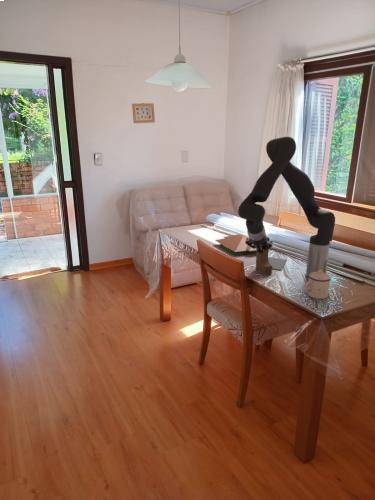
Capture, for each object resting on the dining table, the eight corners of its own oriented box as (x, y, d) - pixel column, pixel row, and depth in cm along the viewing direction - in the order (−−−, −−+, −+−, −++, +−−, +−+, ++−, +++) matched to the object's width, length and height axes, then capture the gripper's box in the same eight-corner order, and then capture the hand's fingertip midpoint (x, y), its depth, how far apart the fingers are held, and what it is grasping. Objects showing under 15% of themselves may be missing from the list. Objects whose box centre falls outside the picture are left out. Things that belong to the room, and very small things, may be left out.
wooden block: (271, 274, 185) (274, 240, 179) (263, 275, 183) (266, 240, 178) (262, 268, 193) (265, 235, 187) (255, 269, 191) (257, 236, 186)
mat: (286, 260, 205) (286, 259, 205) (281, 270, 190) (281, 269, 190) (263, 257, 210) (263, 256, 210) (256, 266, 195) (256, 266, 195)
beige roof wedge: (237, 258, 208) (237, 245, 206) (211, 243, 238) (212, 231, 235) (271, 254, 217) (272, 241, 214) (242, 239, 246) (243, 227, 243)
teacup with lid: (318, 289, 167) (321, 265, 164) (333, 297, 159) (336, 272, 156) (297, 293, 163) (299, 269, 159) (311, 302, 155) (314, 276, 151)
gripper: (273, 227, 160) (276, 246, 174) (243, 224, 165) (249, 243, 179) (270, 242, 157) (273, 260, 171) (240, 238, 162) (245, 256, 176)
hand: (261, 251), depth 175 cm, fingers closed
